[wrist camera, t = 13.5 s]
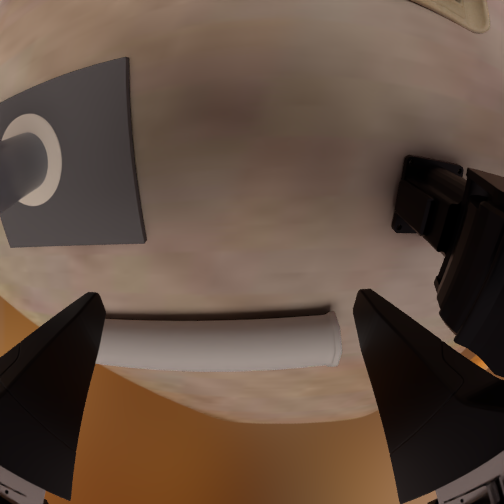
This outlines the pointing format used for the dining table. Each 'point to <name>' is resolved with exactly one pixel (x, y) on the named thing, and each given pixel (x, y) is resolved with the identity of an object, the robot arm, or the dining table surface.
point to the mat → (78, 160)
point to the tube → (222, 344)
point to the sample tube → (21, 167)
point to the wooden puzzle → (462, 12)
